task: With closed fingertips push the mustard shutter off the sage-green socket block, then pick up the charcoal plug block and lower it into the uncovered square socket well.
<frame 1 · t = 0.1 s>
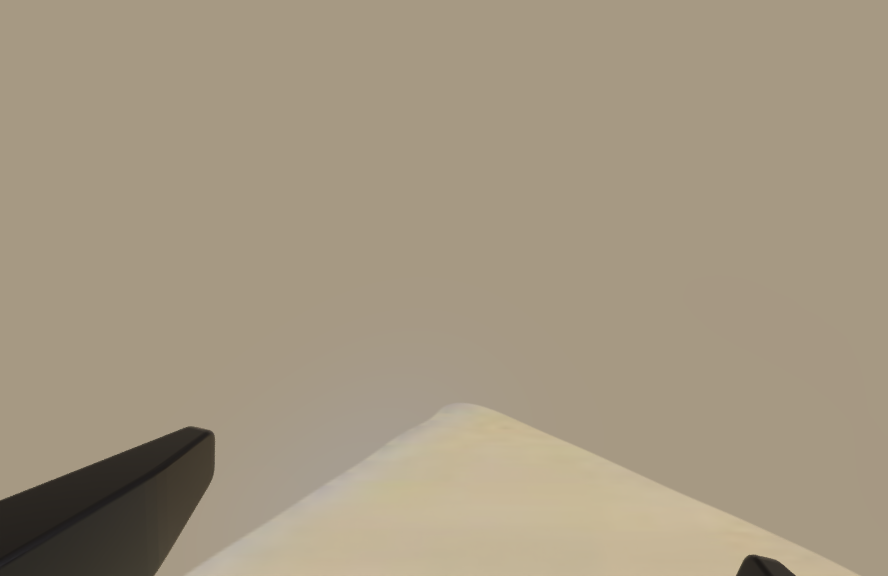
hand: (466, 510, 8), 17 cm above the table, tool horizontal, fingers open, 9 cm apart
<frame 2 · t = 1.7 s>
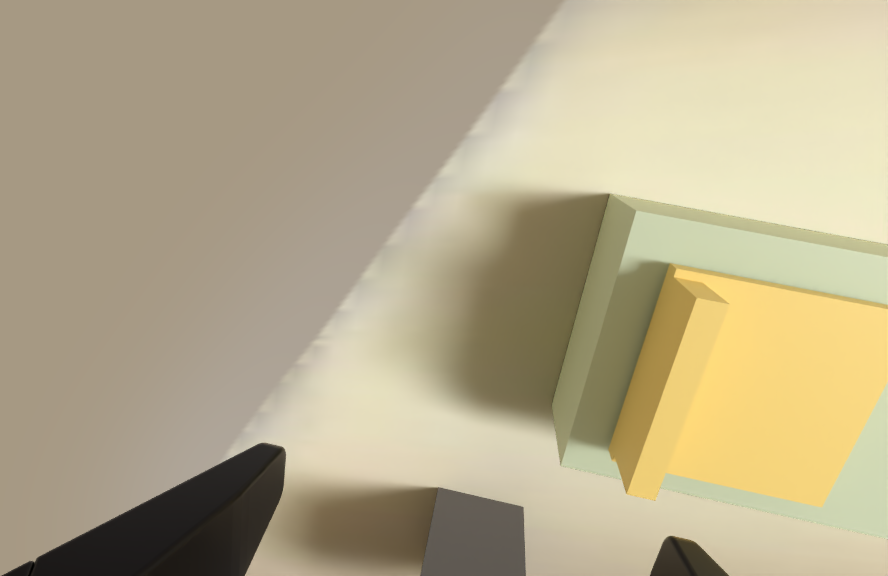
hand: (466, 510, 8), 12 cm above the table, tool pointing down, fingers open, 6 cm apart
plug: (472, 530, 23), on the table
shutter: (763, 405, 14), point 5 cm above the table, slide at 0.0 cm
socket block: (760, 343, 19), on the table
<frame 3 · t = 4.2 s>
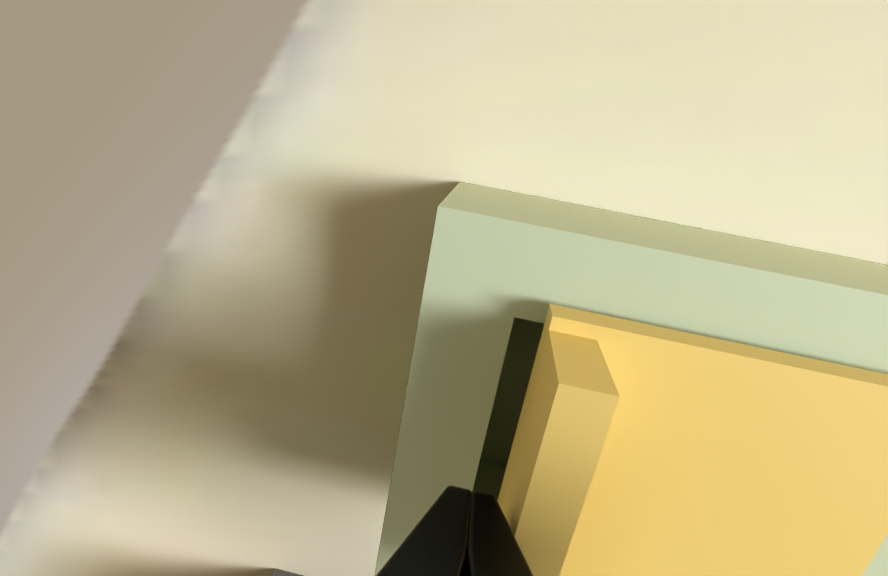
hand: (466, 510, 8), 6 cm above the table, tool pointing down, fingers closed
shutter: (698, 543, 8), point 6 cm above the table, slide at 1.0 cm, touching gripper
socket block: (680, 395, 13), on the table
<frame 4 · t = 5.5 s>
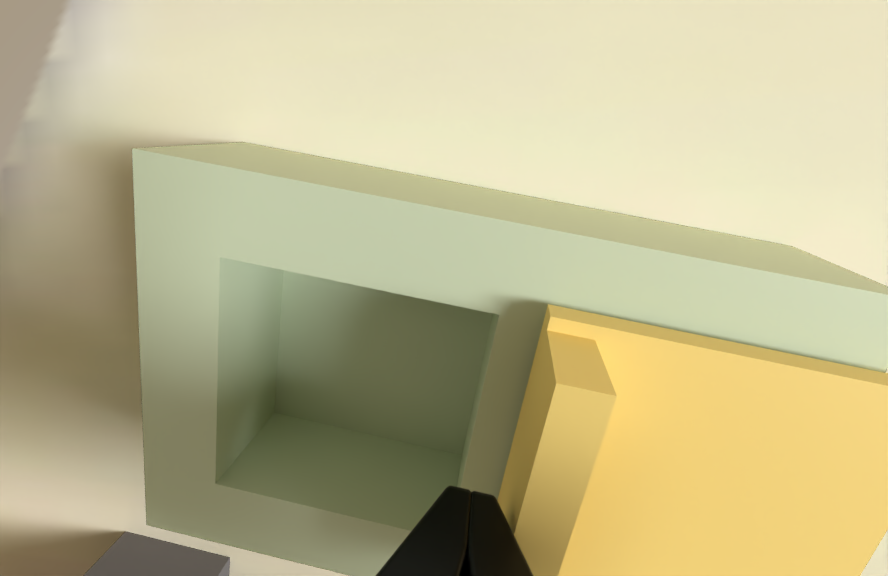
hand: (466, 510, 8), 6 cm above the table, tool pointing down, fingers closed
shutter: (696, 542, 8), point 5 cm above the table, slide at 6.8 cm, touching gripper
socket block: (473, 351, 14), on the table
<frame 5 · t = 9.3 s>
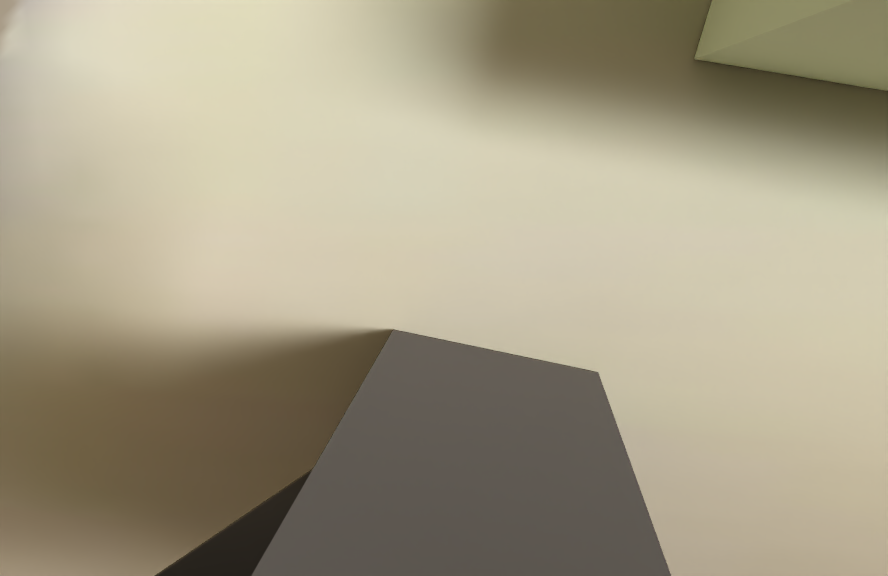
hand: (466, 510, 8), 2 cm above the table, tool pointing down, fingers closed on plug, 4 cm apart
plug: (474, 437, 10), on the table, touching gripper
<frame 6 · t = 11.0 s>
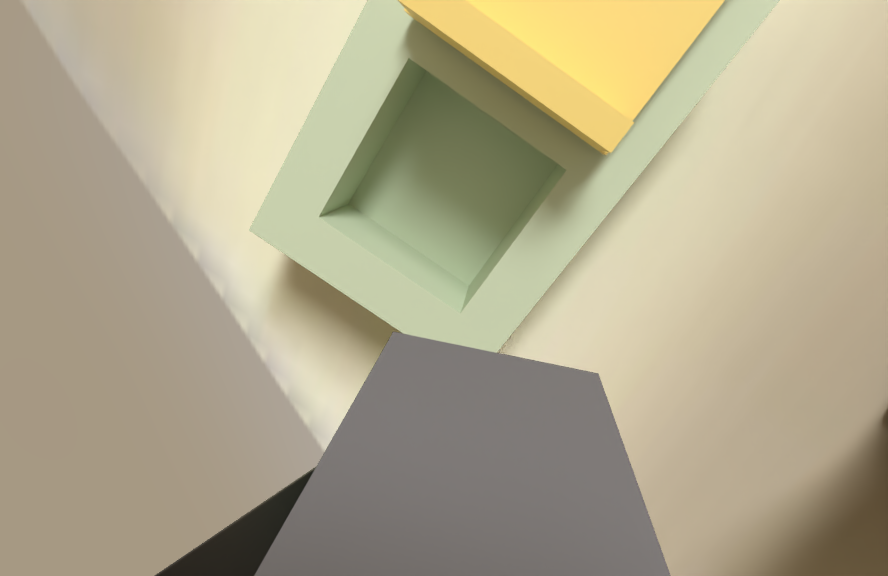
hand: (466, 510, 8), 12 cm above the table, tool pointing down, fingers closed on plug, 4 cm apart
plug: (475, 438, 10), point 10 cm above the table, touching gripper
socket block: (490, 123, 18), on the table
when the fingers open (5 cm above the table, at t = 12.9 s): plug drops 2 cm, resting on socket block.
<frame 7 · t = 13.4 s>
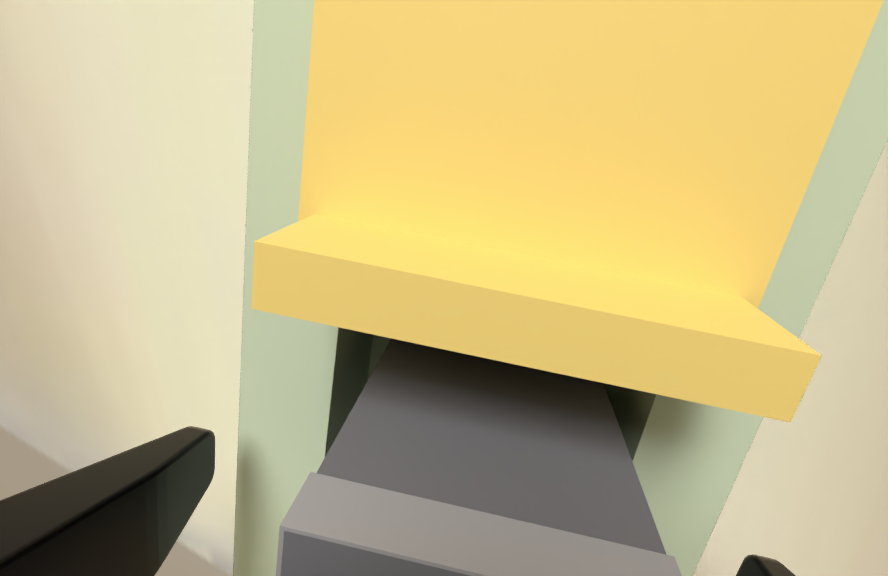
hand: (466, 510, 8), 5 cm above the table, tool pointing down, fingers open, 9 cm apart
plug: (481, 390, 12), point 1 cm above the table, touching socket block
shutter: (572, 58, 5), point 6 cm above the table, slide at 6.9 cm
socket block: (500, 281, 12), on the table
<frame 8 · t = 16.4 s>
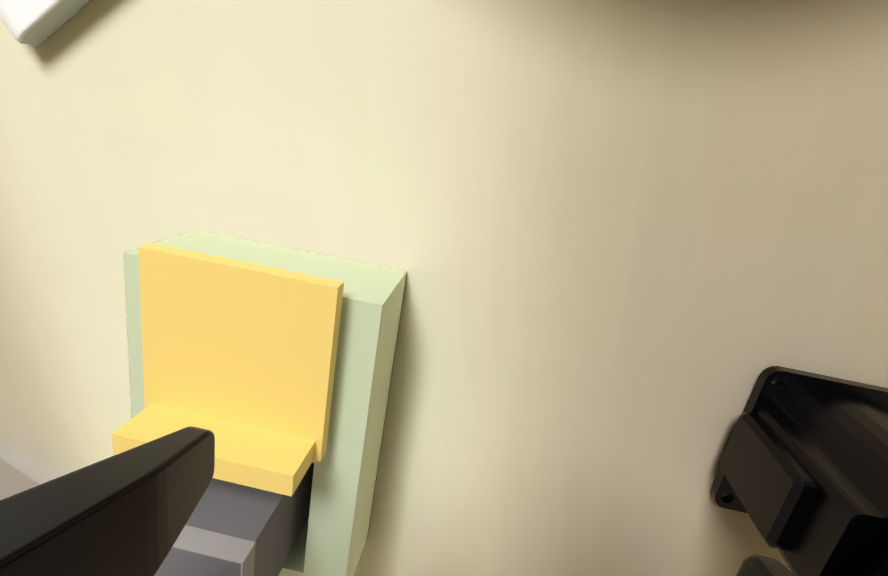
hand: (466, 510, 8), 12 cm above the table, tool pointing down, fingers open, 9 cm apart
plug: (277, 457, 22), point 1 cm above the table, touching socket block
shutter: (224, 368, 16), point 6 cm above the table, slide at 6.9 cm
socket block: (288, 397, 22), on the table
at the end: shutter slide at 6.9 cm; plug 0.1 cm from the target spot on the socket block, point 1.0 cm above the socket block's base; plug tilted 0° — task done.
